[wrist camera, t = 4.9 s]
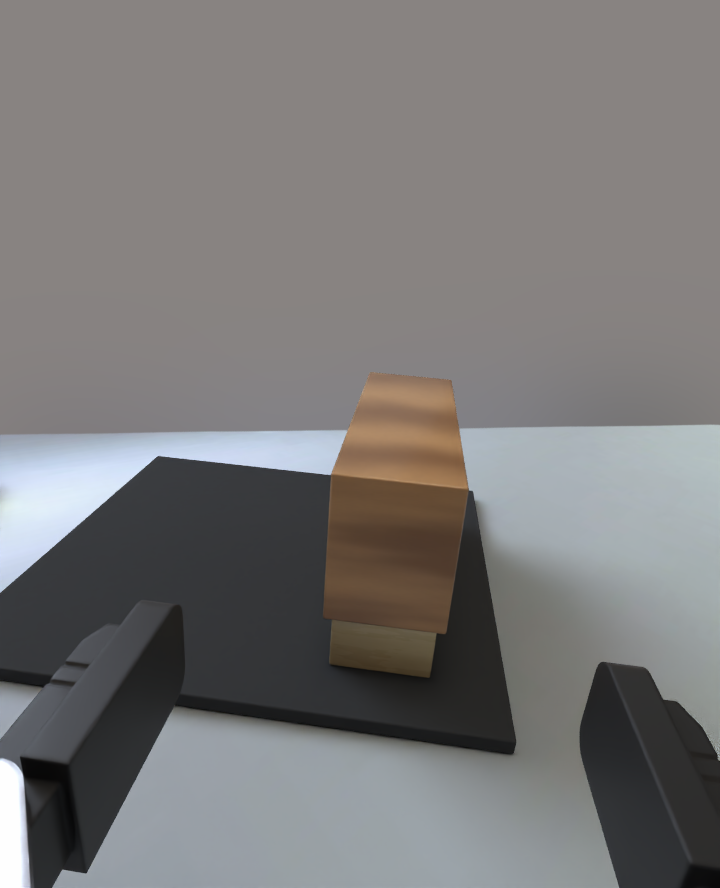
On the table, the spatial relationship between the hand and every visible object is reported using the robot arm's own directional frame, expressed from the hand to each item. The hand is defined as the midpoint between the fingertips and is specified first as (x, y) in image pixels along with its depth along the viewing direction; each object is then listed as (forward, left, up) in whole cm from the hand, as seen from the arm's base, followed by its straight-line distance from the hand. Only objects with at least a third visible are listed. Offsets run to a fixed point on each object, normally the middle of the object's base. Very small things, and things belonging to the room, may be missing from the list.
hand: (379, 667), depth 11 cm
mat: (+6, -17, -9) cm, 20 cm away
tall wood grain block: (0, -16, -8) cm, 18 cm away
